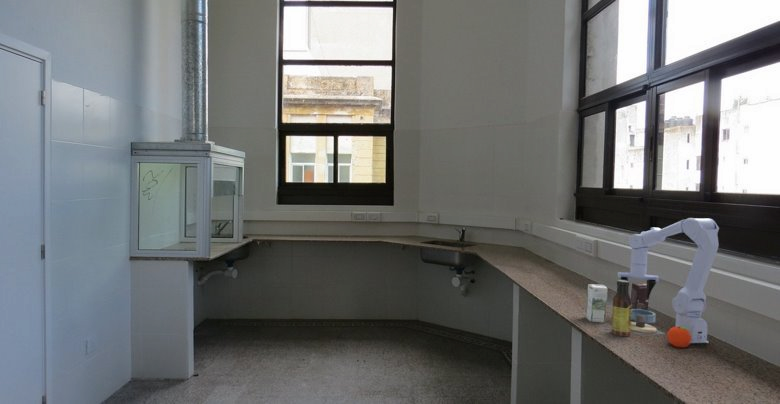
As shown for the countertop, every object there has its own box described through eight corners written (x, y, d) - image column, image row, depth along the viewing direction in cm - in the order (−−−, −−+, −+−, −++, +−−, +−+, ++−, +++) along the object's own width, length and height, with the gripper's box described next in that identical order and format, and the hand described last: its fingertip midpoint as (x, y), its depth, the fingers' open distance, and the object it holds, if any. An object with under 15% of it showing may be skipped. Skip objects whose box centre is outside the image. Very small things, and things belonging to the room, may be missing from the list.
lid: (663, 333, 164) (663, 320, 164) (637, 333, 163) (638, 320, 162) (642, 324, 175) (643, 311, 175) (618, 324, 173) (619, 311, 173)
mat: (666, 335, 164) (666, 333, 164) (637, 335, 162) (637, 334, 162) (642, 324, 176) (642, 323, 176) (615, 325, 174) (615, 324, 174)
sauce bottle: (632, 338, 158) (636, 283, 158) (613, 336, 160) (617, 282, 159) (626, 332, 165) (630, 279, 164) (608, 330, 166) (612, 278, 165)
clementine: (690, 345, 153) (692, 325, 153) (697, 352, 147) (698, 331, 147) (664, 342, 156) (665, 322, 156) (669, 348, 150) (670, 327, 149)
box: (636, 312, 193) (638, 285, 193) (629, 309, 198) (631, 282, 197) (648, 312, 194) (650, 285, 193) (641, 309, 198) (643, 282, 198)
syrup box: (600, 319, 181) (602, 284, 180) (605, 323, 175) (607, 287, 174) (585, 318, 181) (587, 283, 181) (590, 322, 175) (592, 286, 175)
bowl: (660, 324, 177) (660, 315, 177) (640, 324, 176) (640, 315, 176) (643, 317, 186) (644, 308, 186) (624, 317, 185) (625, 309, 184)
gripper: (657, 264, 182) (655, 296, 182) (617, 260, 187) (615, 292, 187) (660, 266, 175) (658, 300, 176) (619, 263, 180) (617, 296, 181)
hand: (636, 296), depth 181 cm, fingers open, 7 cm apart
